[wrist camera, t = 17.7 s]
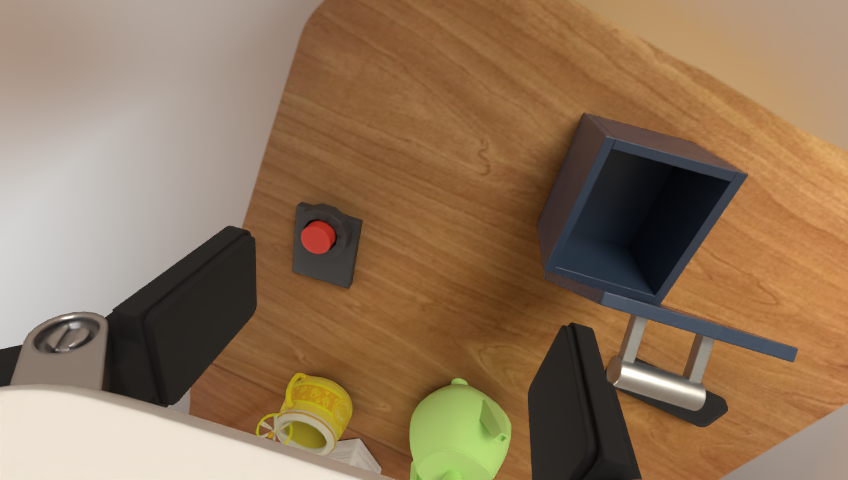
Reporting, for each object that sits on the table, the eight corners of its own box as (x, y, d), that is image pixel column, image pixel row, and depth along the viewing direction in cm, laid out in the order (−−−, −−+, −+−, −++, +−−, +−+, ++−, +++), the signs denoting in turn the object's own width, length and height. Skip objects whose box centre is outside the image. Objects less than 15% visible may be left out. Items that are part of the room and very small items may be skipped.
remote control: (599, 372, 52) (700, 421, 52) (601, 382, 51) (706, 433, 51) (622, 348, 50) (728, 400, 50) (625, 358, 48) (735, 412, 48)
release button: (308, 216, 46) (301, 222, 44) (337, 225, 46) (331, 231, 44) (306, 242, 48) (299, 249, 46) (334, 250, 48) (328, 257, 46)
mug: (368, 413, 65) (341, 486, 54) (314, 420, 68) (279, 490, 58) (331, 356, 60) (294, 424, 50) (276, 367, 64) (230, 432, 53)
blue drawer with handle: (604, 291, 22) (575, 383, 22) (799, 348, 21) (767, 443, 21) (544, 269, 35) (527, 327, 35) (662, 304, 34) (644, 362, 34)
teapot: (471, 345, 54) (462, 425, 43) (543, 398, 56) (552, 487, 45) (391, 410, 63) (367, 489, 52) (455, 453, 65) (445, 538, 54)
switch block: (301, 192, 48) (290, 201, 45) (364, 210, 47) (355, 221, 45) (296, 266, 53) (285, 279, 51) (352, 284, 53) (344, 297, 50)
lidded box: (583, 112, 38) (605, 135, 29) (693, 142, 37) (748, 174, 29) (536, 225, 44) (543, 271, 35) (629, 252, 43) (659, 305, 35)
